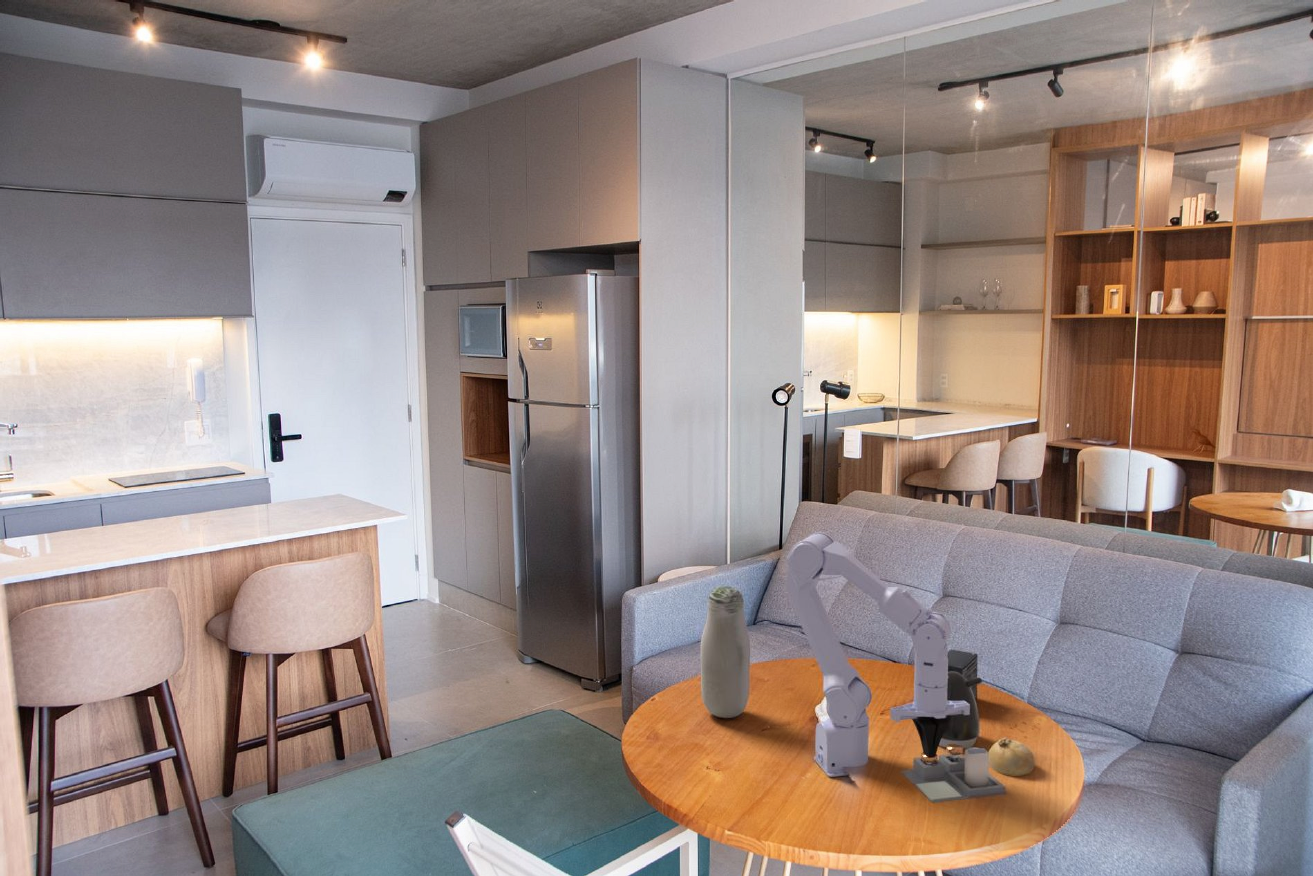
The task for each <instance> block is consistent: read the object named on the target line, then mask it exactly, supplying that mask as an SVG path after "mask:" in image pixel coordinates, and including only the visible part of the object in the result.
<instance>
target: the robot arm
mask: <svg viewBox="0 0 1313 876" xmlns="http://www.w3.org/2000/svg"><path fill="white" fill-rule="evenodd" d="M785 562H786V565H787V566H786V577H785V578H786V579H785V591H786V593H787V595H788V598H789V600H790V603H791V605H792V607H793V609H794V611H795V614H796V617H797V619H798V621H799V623H800V626H801V628H802V630H803V633H804V635H805V637H806V639H807V642H808V644H809V647H810V648H811V651H812V653H813V655H814V658H815V661H816V663H817V664H818V667H819V669H820V671H821V674H822V676H823V684H822V685H823V686H822V688H823V689H822V692H823V694H824V697H825V700H826V704H825V705H826V713H827V716H828V719H825V720H824V721H820V722H818V723H817V722H816V726H815V735H814V737H815V741H814V742H815V747H814V748H815V750H814V751H815V754H814V757H813V759H814V761H815V762H816V763H817V765H818V766H819V767H820V768H821V769H822V771H824V773H825V774H826V775H827V776H828V778H829V777H830V778H833V777H836V778H837V777H843V776H844V777H845V776H850V773H848V771H847V770H846V769H845V768H857V767H862V766H864V765H866V764H868V762H869V741H870V740H869V735H870V734H869V732H870V730H869V729H870V727H869V726H870V725H869V724H870V722H869V721H870V719H869V715H868V713H867V707H869V706H870V704H871V702H872V699H873V693H872V691H871V688H870V685H869V684H867V682H865V680H863V679H862V677H861V676H860V674H859V672H858V670H857V669H856V668H855V667H854V666H852V665H850V663H849V661H848V658H847V656H846V654H845V652H844V649H843V647H842V645H841V643H840V640H839V639H838V635H837V633H836V631H835V629H834V627H833V625H832V624H833V623H832V622H831V620H830V618H829V615H828V613H827V611H826V609H825V607H824V603H823V602H822V600H821V597H820V595H819V592H818V590H817V584H818V581H819V579H820V578H821V575H823V576H841V577H843V578H844V579H845V580H847V581H848V582H850V583H851V584H853V585H854V586H855V587H856V588H858V589H859V590H861V591H862V592H863V593H865V594H866V595H868V596H869V597H871V599H873V600H875V601H876V602H877V607H878V611H879V612H880V614H881V615H883V616H884V617H886V618H887V619H888V620H889V621H891V622H892V624H894V625H896V626H897V627H898V628H899V629H900V630H902V631H903V632H905V634H907V635H909V636H910V637H911V641H912V644H913V646H914V647H915V655H914V675H913V677H914V679H913V680H914V682H913V685H914V686H913V701H912V702H909V703H905V704H904V705H899V706H895V707H890V711H889V712H890V714H889V715H890V719H891V720H892V721H894V723H900V722H901V721H904V720H912V722H913V724H914V726H915V728H916V731H917V734H918V736H919V739H920V743H921V748H922V752H923V753H924V754H925V755H926V756H927V757H928V758H932V757H935V756H936V754H937V753H938V752H937V751H938V749H939V747H940V746H939V743H940V741H941V738H942V736H943V734H944V733H945V731H946V730H947V728H948V727H949V720H948V719H947V718H946V715H956V714H963V715H970V704H968V703H967V702H965V701H947V684H948V658H947V654H948V652H949V650H948V643H947V642H948V640H949V638H951V637H950V636H951V631H952V628H951V624H950V622H949V620H948V619H947V618H946V617H945V616H944V614H943V613H940V612H936V611H933V609H932V608H930V607H928V608H927V607H925V606H924V605H923V604H921V603H920V602H919V601H918V600H916V599H915V598H914V597H912V596H911V594H912V591H910V590H909V589H908V588H905V589H904V590H903V588H901V587H900V586H889V585H887V584H886V583H885V582H884V581H882V580H881V579H880V578H879V577H878V576H877V575H875V573H873V572H872V571H871V570H870V569H869V568H867V567H866V566H865V565H864V564H863V563H862V562H861V561H860V560H858V558H856V557H855V556H854V555H852V553H850V552H849V551H848V550H847V548H845V546H844V545H843V543H840V542H838V541H837V540H835V541H834V538H832V536H830V535H829V534H828V533H825V532H821V531H816V532H813V533H810V534H809V535H808V536H807V537H806V538H804V539H802V540H801V541H798V542H796V543H795V544H794V545H793V546H792V548H791V549H790V550H789V553H788V554H787V557H786V559H785Z"/></svg>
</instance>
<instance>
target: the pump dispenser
mask: <svg viewBox="0 0 1313 876" xmlns="http://www.w3.org/2000/svg"><path fill="white" fill-rule="evenodd" d="M982 682H983V681H982V677H979V676H978V677H977V678H975V679H971V680H966V679H965V677H964V676H963V675H962V674H960V673H958V672H954V671H950V672H948V684H947V701H965V702H967V703H968V704H970V715H963V714H956V715H946V718H947V719H948V720H949V727H948V728H947V730H946V731H945V733H944V734H943V736H942V738H941V741H940V743H939V746H938V747H941V748H944V749H946V748H947V745H948V744H957V745H960V746H962V747H963V750H966V749H967V748H973V746H974V745H975V744H976V741H977V739H978V736H979V735H980V730H981V729H980V728H981V726H980V725H981V724H980V717H979V710H978V706H977V705H978V704H977V702H976V701H977V700H976V701H975V698H974V695H973V692H972V690H971V687H972V686H975V685H977V686H978V685H980V684H982Z"/></svg>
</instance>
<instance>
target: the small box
mask: <svg viewBox="0 0 1313 876" xmlns="http://www.w3.org/2000/svg"><path fill="white" fill-rule="evenodd" d="M947 658H948V672H950V671H954V672H958V673H960V674H962V675H963V676H964V677H965V679H966V680H971V679H975V678H978V664H979V663H978V653H976V652H975V653H974V652H968V651H963V650H957V649H950V650H948V654H947ZM971 690H972V692H973V695H974V698H975V701H977V700H978V684H977V685H975V686H972V687H971Z"/></svg>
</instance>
